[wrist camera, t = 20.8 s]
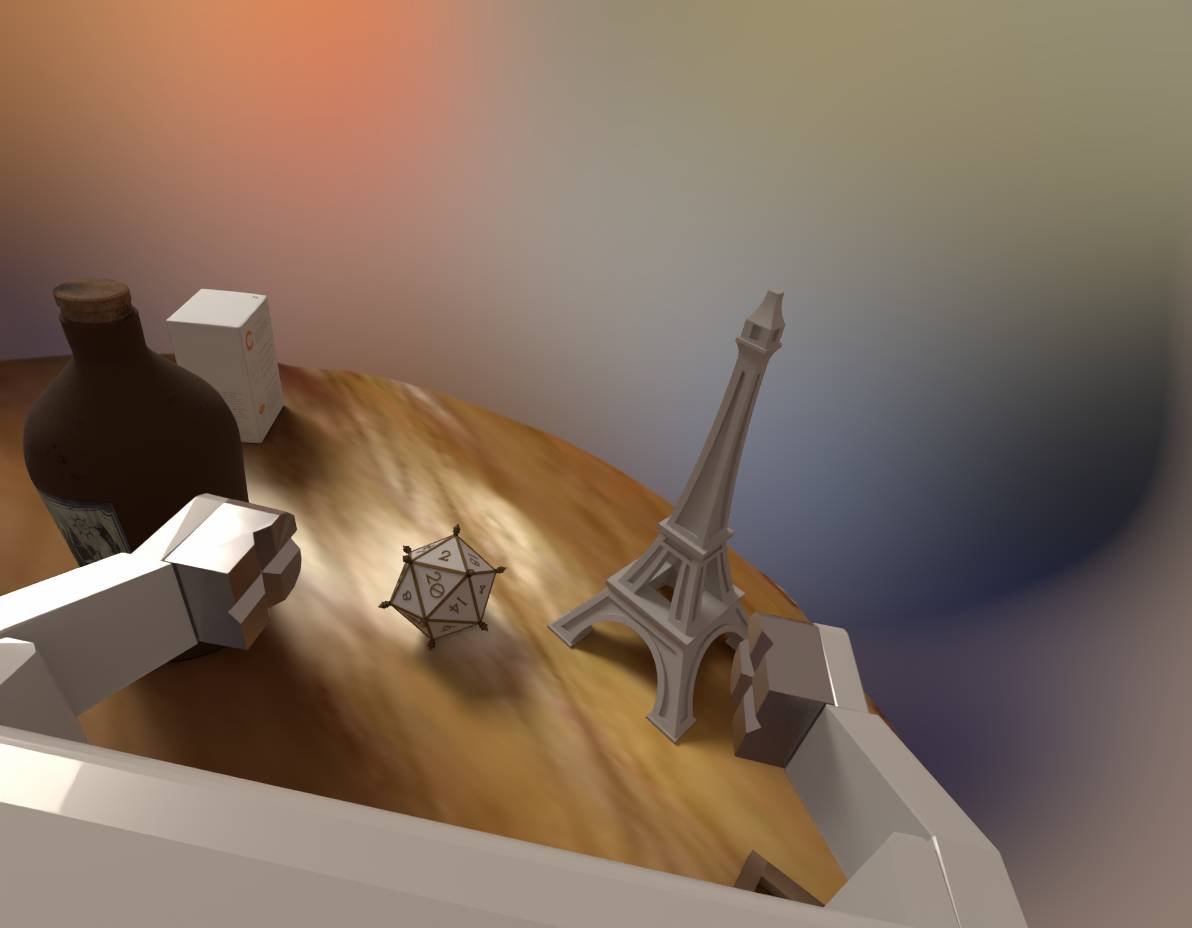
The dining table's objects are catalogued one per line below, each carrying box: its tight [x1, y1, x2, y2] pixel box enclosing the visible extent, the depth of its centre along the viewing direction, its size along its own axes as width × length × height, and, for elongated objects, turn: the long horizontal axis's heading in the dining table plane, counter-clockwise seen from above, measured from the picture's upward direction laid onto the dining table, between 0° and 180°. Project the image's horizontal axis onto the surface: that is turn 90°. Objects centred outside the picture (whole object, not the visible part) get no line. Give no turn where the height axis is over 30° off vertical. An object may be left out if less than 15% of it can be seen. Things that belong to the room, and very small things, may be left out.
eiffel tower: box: [547, 289, 785, 744], centre depth 43 cm, size 13×13×30 cm
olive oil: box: [23, 278, 249, 661], centre depth 39 cm, size 11×11×25 cm
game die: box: [378, 524, 506, 650], centre depth 47 cm, size 9×8×10 cm
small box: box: [166, 289, 284, 443], centre depth 63 cm, size 8×6×13 cm
